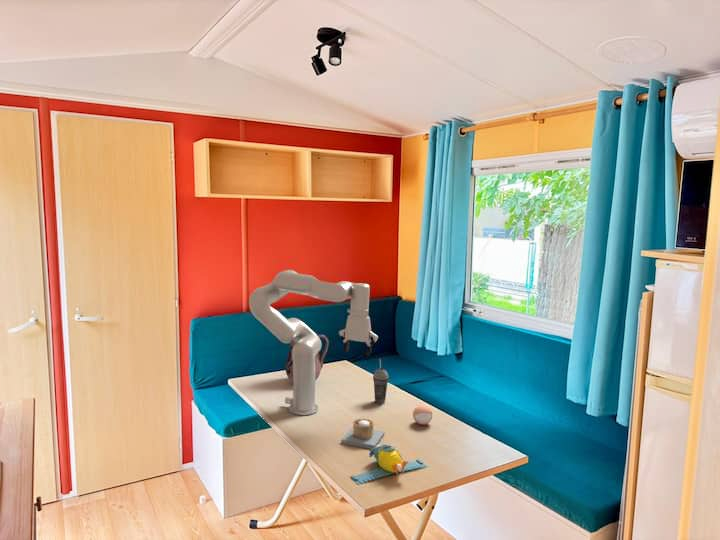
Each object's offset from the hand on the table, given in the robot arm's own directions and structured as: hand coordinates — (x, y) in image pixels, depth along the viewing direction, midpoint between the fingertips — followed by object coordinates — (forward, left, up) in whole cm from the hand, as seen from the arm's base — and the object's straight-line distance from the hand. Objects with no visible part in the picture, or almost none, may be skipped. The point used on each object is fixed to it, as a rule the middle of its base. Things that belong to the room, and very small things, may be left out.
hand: (357, 353), depth 209 cm
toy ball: (+28, +3, -28) cm, 40 cm away
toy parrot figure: (+25, -38, -28) cm, 54 cm away
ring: (+10, -20, -26) cm, 34 cm away
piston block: (+10, -20, -27) cm, 35 cm away
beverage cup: (+5, +19, -28) cm, 34 cm away
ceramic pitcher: (-37, +30, -28) cm, 55 cm away
